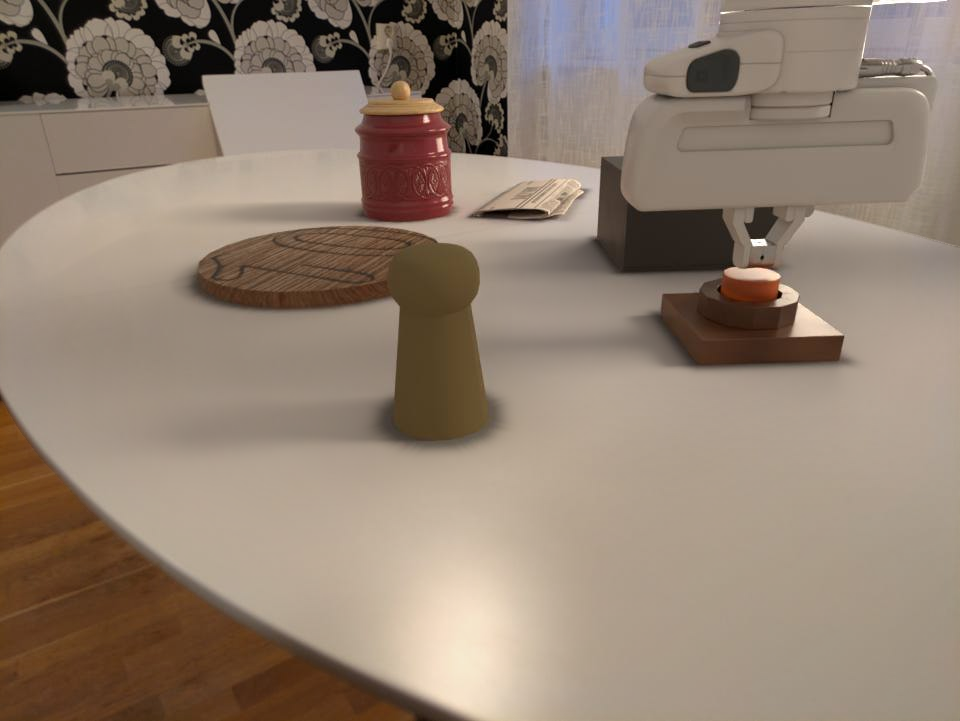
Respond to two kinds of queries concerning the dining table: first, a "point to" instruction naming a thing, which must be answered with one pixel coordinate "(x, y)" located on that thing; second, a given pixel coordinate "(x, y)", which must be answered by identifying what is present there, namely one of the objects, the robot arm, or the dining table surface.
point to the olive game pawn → (437, 343)
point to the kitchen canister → (404, 158)
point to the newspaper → (536, 199)
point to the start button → (750, 284)
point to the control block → (748, 328)
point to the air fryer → (666, 231)
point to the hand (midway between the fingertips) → (755, 266)
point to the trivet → (306, 266)
